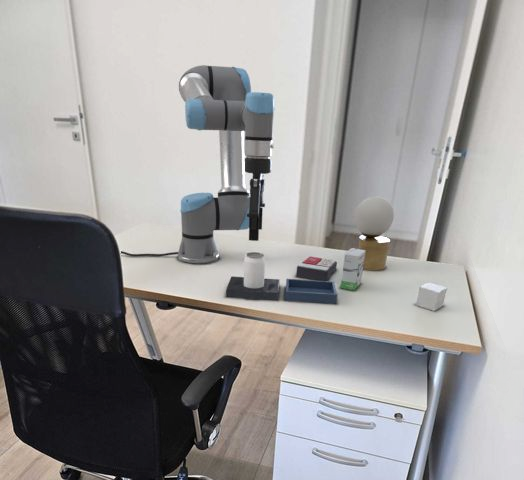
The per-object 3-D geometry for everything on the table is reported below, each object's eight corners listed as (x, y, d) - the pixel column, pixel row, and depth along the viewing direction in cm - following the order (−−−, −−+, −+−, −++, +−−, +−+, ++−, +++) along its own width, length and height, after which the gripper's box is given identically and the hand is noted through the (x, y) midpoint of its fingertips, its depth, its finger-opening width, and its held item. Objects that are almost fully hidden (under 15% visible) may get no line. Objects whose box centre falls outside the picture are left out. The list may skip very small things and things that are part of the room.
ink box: (353, 291, 144) (359, 256, 138) (339, 288, 146) (344, 253, 140) (361, 283, 151) (366, 249, 145) (347, 280, 152) (351, 247, 147)
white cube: (442, 305, 136) (447, 287, 133) (434, 311, 132) (438, 292, 129) (424, 300, 140) (428, 282, 137) (415, 304, 136) (419, 286, 133)
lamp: (340, 260, 173) (349, 193, 161) (370, 257, 178) (381, 192, 166) (363, 272, 161) (374, 201, 149) (394, 268, 166) (407, 200, 154)
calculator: (337, 259, 161) (327, 269, 148) (336, 271, 163) (326, 281, 150) (309, 255, 164) (296, 264, 152) (307, 266, 166) (295, 276, 154)
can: (267, 291, 140) (269, 255, 134) (253, 297, 136) (255, 259, 130) (253, 286, 144) (254, 250, 138) (239, 291, 140) (239, 254, 134)
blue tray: (284, 300, 134) (285, 291, 133) (285, 287, 145) (286, 278, 143) (335, 303, 134) (337, 294, 132) (333, 290, 144) (334, 281, 142)
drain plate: (225, 297, 134) (225, 290, 133) (231, 282, 146) (231, 275, 145) (277, 301, 134) (278, 293, 133) (279, 285, 145) (279, 278, 144)
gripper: (269, 162, 110) (265, 246, 120) (273, 154, 131) (270, 225, 142) (239, 161, 110) (238, 244, 120) (248, 152, 132) (247, 224, 142)
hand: (255, 234), depth 131 cm, fingers open, 13 cm apart
